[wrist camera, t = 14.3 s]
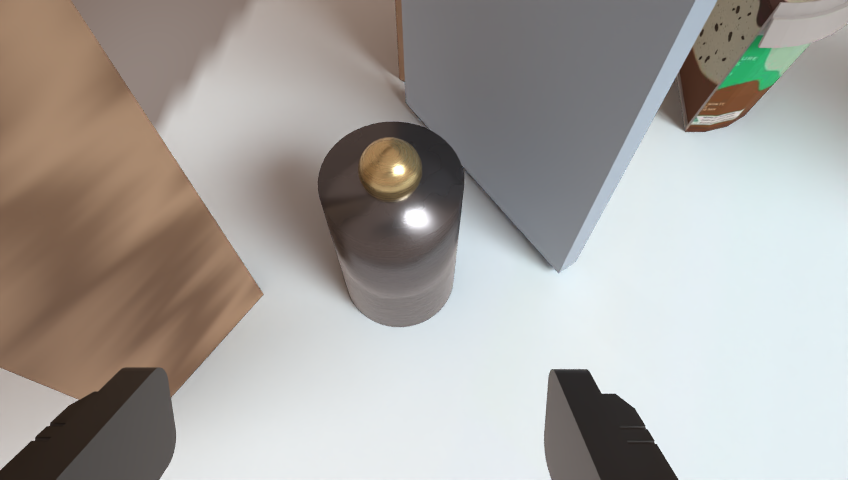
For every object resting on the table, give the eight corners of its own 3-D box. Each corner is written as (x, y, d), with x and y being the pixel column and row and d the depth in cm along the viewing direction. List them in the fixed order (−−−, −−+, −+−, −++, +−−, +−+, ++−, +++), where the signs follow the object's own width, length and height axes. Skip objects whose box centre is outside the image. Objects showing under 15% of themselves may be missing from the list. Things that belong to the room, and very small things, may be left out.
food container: (795, 159, 33) (929, 20, 24) (688, 151, 33) (783, 11, 24) (756, 14, 39) (853, -141, 30) (665, 8, 39) (735, -147, 30)
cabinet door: (405, 102, 34) (389, -273, 19) (440, 84, 35) (453, -293, 19) (558, 273, 29) (720, -50, 13) (595, 247, 30) (792, -89, 14)
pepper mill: (389, 212, 31) (373, 69, 22) (474, 264, 30) (497, 134, 20) (324, 288, 29) (276, 166, 20) (412, 348, 28) (406, 247, 18)
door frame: (467, 7, 39) (513, -567, 19) (504, 25, 38) (594, -556, 18) (101, 388, 27) (-911, -86, 6) (145, 426, 26) (-858, 17, 6)
